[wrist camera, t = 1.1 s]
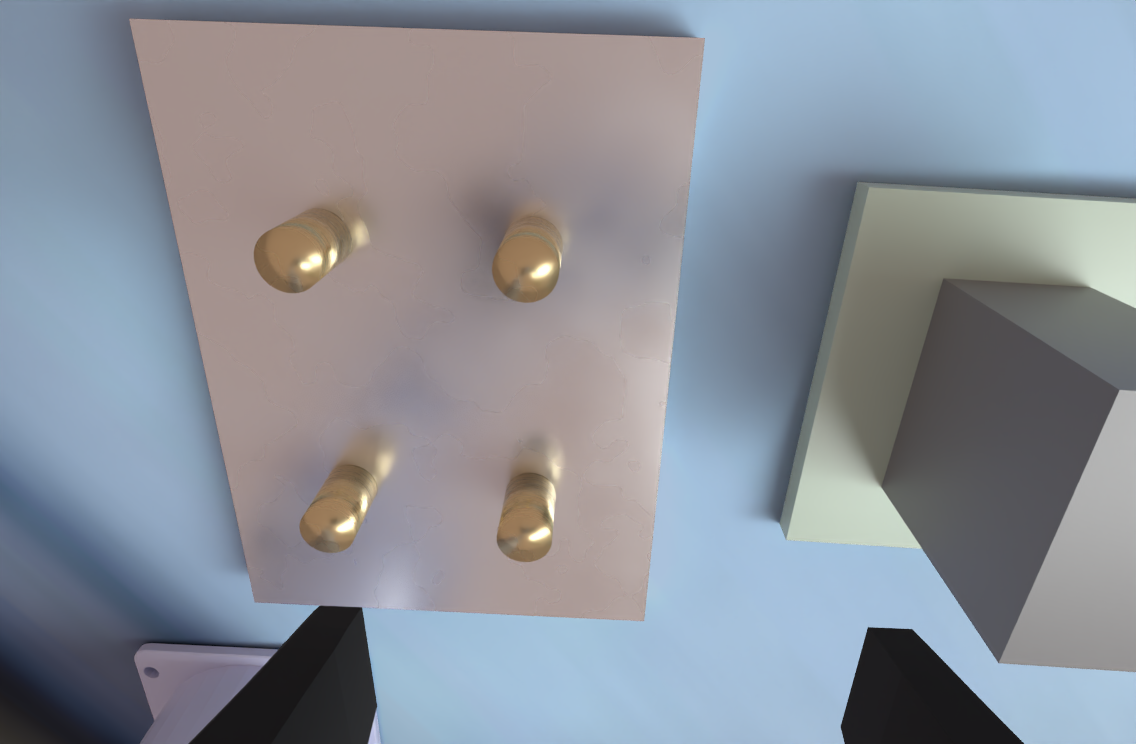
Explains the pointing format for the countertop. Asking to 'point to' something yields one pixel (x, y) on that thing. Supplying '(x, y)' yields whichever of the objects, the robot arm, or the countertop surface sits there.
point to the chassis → (432, 301)
